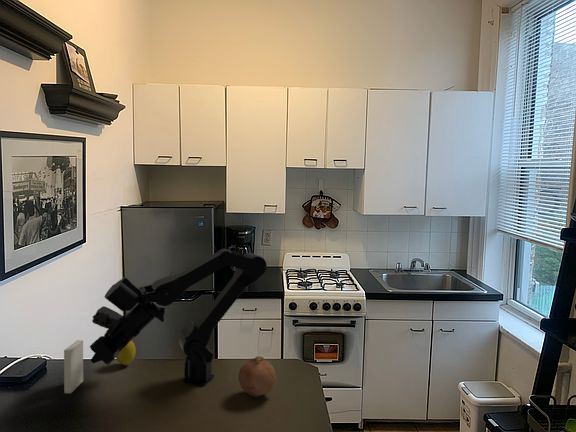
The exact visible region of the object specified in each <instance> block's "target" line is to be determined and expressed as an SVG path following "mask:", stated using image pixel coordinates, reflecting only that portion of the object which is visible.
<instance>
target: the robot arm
mask: <svg viewBox="0 0 576 432" xmlns="http://www.w3.org/2000/svg"><path fill="white" fill-rule="evenodd" d="M226 266H230V267H233V268H235V270H234V272H233V276H232V278H231V279H230V280H229V281H228V282H227V284H226V285H225V286H224V288H222V290H221V292H219V294H218V296H216V298H215V299H214V300H213V302H212V303H211V304H210V306H209V307H208V308H207V310H205V312H204V313H203V314H202V316H201V317H200V318H199V319H197V320H195V321H194V322H193V320H191V319H189V320H188V321H187V322H186V324H185V326H184V327H183V328H182V329H180V330H179V332H180V334H179V336H178V344H179V346H180V348H181V350H182V351H183V353H184V354H185V356H186V357H185V362H184V366H183V370H184V371H183V373H184V375H183V376H184V378H183V379H182V380H181V382H182V383H184V384H190V385H195V386H199V387H204V386H205V385H206V384H208V383H209V382H210V381H212V380H213V379H214V378H215V375H214V374H212V372H213V371H212V368H213V367H212V366H213V365H212V363H213V358H214V353H213V352H212V350H211V349H210V348H209V347H208V345H209V342H210V339H211V338H212V337H211V336H212V333H213V331H214V329H215V328H216V326H217V325H218V324H219V322H220V321H221V320H222V319H223V317H224V316H225V315H226V314H227V312H228V311H229V310H230V308H231V307H232V306H233V305H234V304H235V303H236V301H237V299H238V298H239V297H240V295H242V293H243V292H244V291H245V290H246V288H248V287H249V286H251V285H253V284H254V283H256V282H257V281H258V280H259V279H260V278H261V277H262V276H263V275H265V273H266V271H267V268H268V267H267V262H266V260H265V258H263V257H262V256H260V255H258V254H256V253H252V252H248V253H245V254H243V253H239V252H237V251H234V250H233V251H231V250H229V249H227V248H221V249H219V250H217V252H215V253H214V254H212V255H210V256H208V257H206V258H205V259H203V260H201V261H199V262H198V263H196V264H194V265H192V266H191V267H189V268H187V269H184V270H183V271H182V272H179V273H175V274H172V275H168V276H166V277H165V276H164V277H163V278H160V279H157V280H155V281H154V282H153V283H151V284H149V285H145V286H140V287H138V286H136V284H134V283H133V282H132V281H131V280H130V279H129V278H128V277H127V276H123V277H122V278H121V279H119V280H118V281H117V282H115V284H114V283H113V284H112V285H111V287H109V289H108V290H107V291H106V293H105V294H104V298H105V300H107V301H108V302H110V303H111V304H112V305H113V306H115V308H117V309H119V310H120V311H121V312H125V311H127V312H126V313H125V314H124V315H122V314H120V313H119V312H117V311H115V310H113V309H111V308H109V307H107V306H100V308H98V309H97V310H96V312H95V314H94V315H92V320H91V321H92V324H95V325H97V326H98V327H102V328H104V329H107V330H106V331H105V333H104V335H101V336H100V337H98V338H97V339H96V340H95V341H93V342H92V343H91V345H90V346H89V349H90V350H91V351H92V352H93V353H94V355H93V356H92V357H91V359H90V362H91V363H92V364H95V363H98V362H101V361H102V362H103V363H104V364H105V365H109V364H111V363H112V362H113V361H114V360H115V359H116V357H117V356H118V355H119V351H121V350H122V349H123V348H124V347H125V346H126V345H127V344H128V343H129V342H130V341H132V342H133V340H134V339H135V338H136V337H137V336H138V335H140V333H141V332H142V331H143V330H144V329H145V328H146V327H148V326H149V324H151V323H152V322H153V321H154V320H155V319H157V320H159V321H160V322H162V323H163V322H165V314H166V313H165V312H166V307H167V306H168V307H169V306H170V305H171V304H174V302H175V301H177V300H178V299H179V298H180V297H181V296H182V295H183V294H184V293H185V292H186V291H187V290H188V289H189V288H190V287H192V286H194V285H196V284H197V283H199V282H201V281H203V280H204V279H206V278H207V277H209V276H211V275H212V274H215V273H216V272H217V271H219V270H221V269H223V268H225V267H226ZM160 306H162V307H160Z"/></svg>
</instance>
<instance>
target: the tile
mask: <svg viewBox="0 0 576 432" xmlns="http://www.w3.org/2000/svg"><path fill="white" fill-rule="evenodd" d="M63 370H64V371H63V372H64V373H63V379H64V381H63V382H64V383H63V385H64V386H63V388H64V390H63V391H64V392H63V394H72V393H73V392H74V391H75V390H76V389H77V387H79V386H81V384H82V383H83V382H84V340H82V339H81V340H80V339H79V340H78V339H77V340H75V341H74V342H72V343H71V344H70V345H69V346H68V347H66V348H65V349H64V350H63Z"/></svg>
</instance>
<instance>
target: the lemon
mask: <svg viewBox="0 0 576 432" xmlns="http://www.w3.org/2000/svg"><path fill="white" fill-rule="evenodd" d="M136 350H137V349H136V345H135V343H134V342H133V340H132V341H130V342H129V343H128V344H127V345H126V346H125V347H124V348H123V349H122V350H121V351H119V355H118V356H117V357H116V358H115V359H116V361H117V362H118V363H119V364H122V365H124V366H127V365H128V364H130V363H131V362H133V361H134V359H135V358H136V352H137V351H136Z"/></svg>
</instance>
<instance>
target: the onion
mask: <svg viewBox="0 0 576 432" xmlns="http://www.w3.org/2000/svg"><path fill="white" fill-rule="evenodd" d="M276 380H277V377H276V372H275V368H274V366H273V365H272V364H271V363H270V362H269V361H268V360H265V358H264V357H262V356H260V355H259V356H255V357H254V358H251V359H248V360H247V361H246V362H245V363H244V364H242V366H241V367H240V369H239V372H238V381H239V386H240V388H241V389H242V390H243V392H245V393H247V394H248V395H249V396H250V397H257V398H258V397H259V398H260V396H263V395H266V394H268V393H269V392H270V391H271V390H273V389H274V387H275V384H276Z"/></svg>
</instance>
